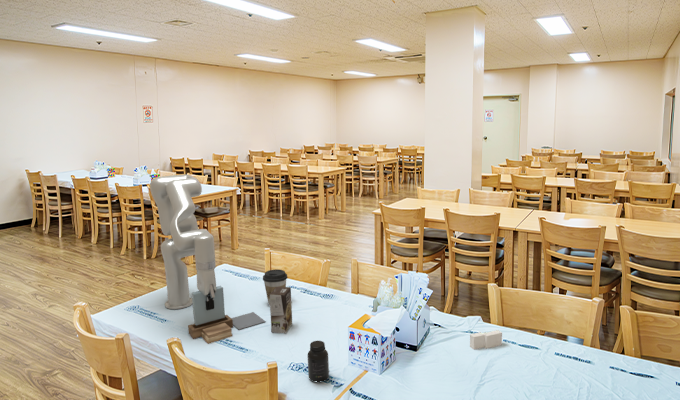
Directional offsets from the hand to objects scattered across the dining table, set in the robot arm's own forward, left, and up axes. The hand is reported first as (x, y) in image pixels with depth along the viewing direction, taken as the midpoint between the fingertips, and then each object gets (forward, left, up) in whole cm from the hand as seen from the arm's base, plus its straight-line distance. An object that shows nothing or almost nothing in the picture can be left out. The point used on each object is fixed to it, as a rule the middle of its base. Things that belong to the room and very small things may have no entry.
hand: (208, 307), depth 189 cm
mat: (+2, +15, -10) cm, 18 cm away
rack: (+1, 0, -10) cm, 10 cm away
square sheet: (0, 0, -5) cm, 5 cm away
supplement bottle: (+57, +16, -10) cm, 60 cm away
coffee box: (+17, +24, -10) cm, 31 cm away
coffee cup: (-7, +34, -10) cm, 36 cm away
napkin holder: (+76, +76, -10) cm, 108 cm away
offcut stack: (+7, 0, -10) cm, 12 cm away
